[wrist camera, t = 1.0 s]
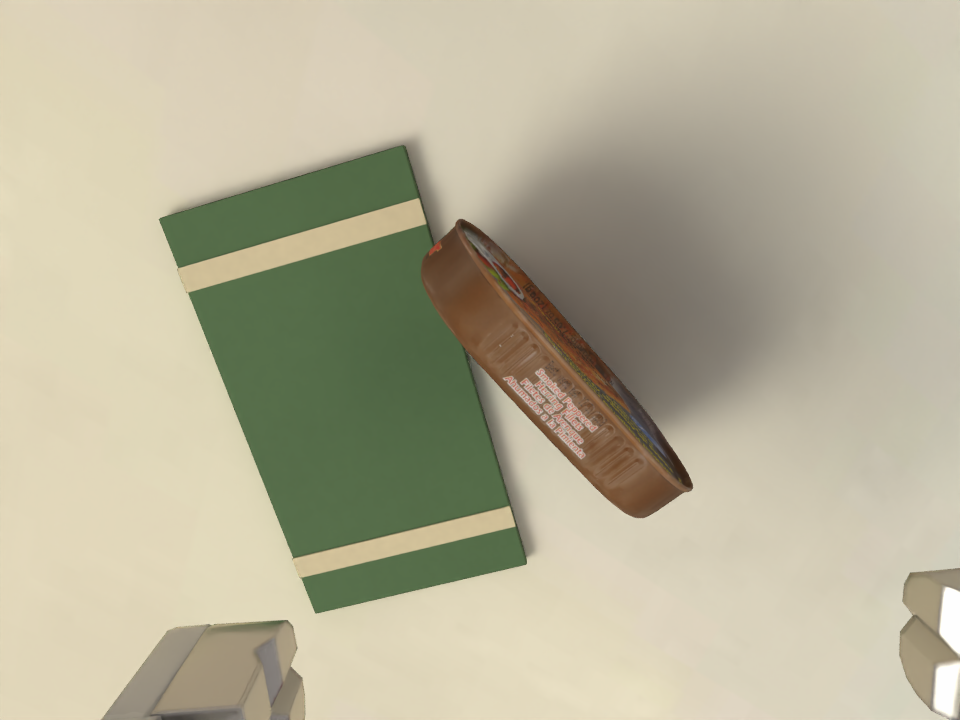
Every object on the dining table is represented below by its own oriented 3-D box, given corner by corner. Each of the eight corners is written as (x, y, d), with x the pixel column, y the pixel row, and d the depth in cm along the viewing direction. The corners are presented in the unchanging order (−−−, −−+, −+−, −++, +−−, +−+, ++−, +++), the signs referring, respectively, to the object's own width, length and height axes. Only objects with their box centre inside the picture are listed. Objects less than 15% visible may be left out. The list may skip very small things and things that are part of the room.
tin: (668, 435, 32) (729, 518, 24) (620, 473, 32) (662, 566, 24) (469, 210, 29) (460, 215, 21) (421, 255, 30) (393, 278, 22)
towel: (405, 145, 29) (403, 144, 28) (526, 558, 34) (527, 566, 33) (164, 218, 30) (156, 218, 29) (318, 607, 35) (314, 615, 34)
